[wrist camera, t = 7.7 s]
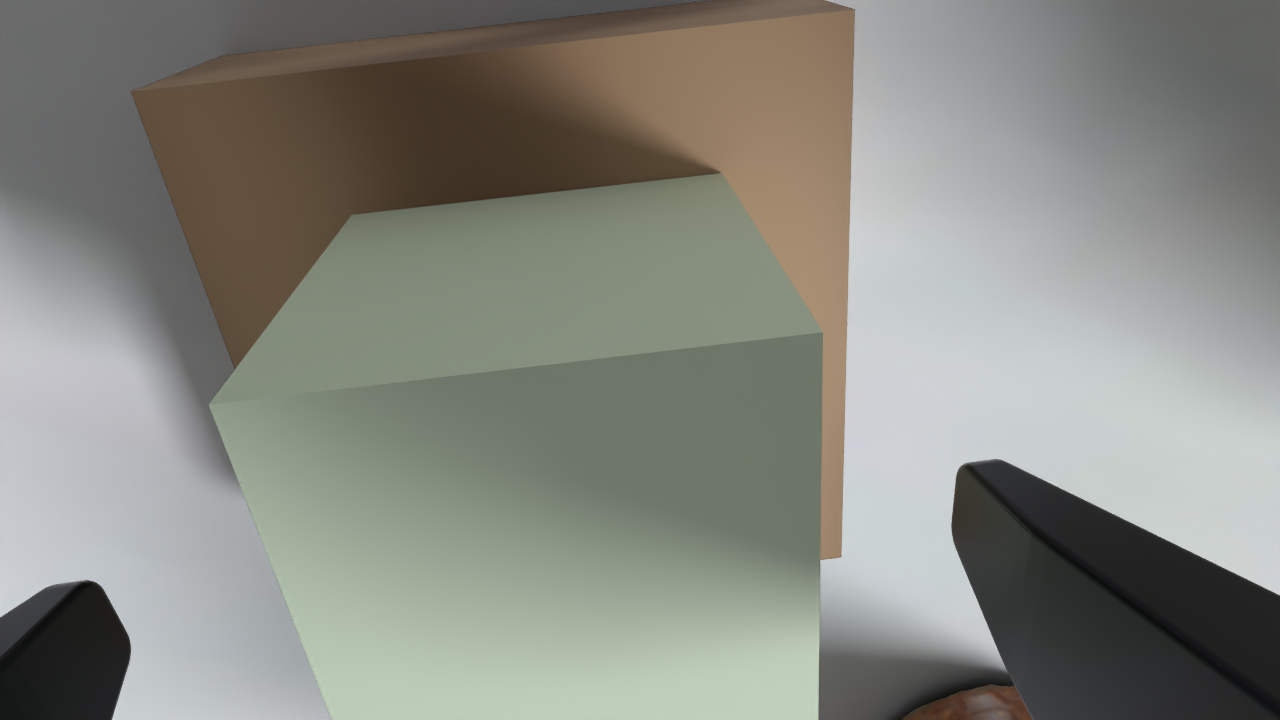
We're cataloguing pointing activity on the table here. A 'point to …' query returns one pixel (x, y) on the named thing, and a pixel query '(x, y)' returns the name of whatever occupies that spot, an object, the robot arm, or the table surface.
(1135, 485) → the table surface
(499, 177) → the walnut block
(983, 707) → the sauce bottle
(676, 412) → the sage cube
